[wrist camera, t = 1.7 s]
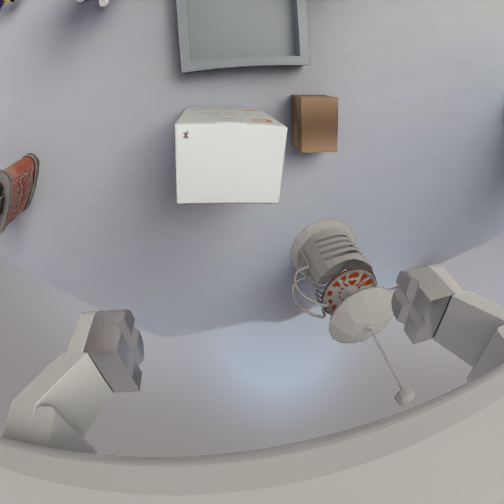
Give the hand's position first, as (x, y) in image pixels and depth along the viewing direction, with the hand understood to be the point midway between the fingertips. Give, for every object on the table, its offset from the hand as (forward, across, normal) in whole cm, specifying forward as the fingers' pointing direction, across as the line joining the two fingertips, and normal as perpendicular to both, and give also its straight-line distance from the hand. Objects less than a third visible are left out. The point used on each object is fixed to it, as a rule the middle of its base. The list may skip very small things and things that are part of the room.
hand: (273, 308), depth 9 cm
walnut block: (+28, -10, -1) cm, 30 cm away
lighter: (+29, +26, +1) cm, 39 cm away
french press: (+28, -12, +17) cm, 35 cm away
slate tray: (+28, -3, -14) cm, 31 cm away
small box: (+28, 0, 0) cm, 28 cm away
